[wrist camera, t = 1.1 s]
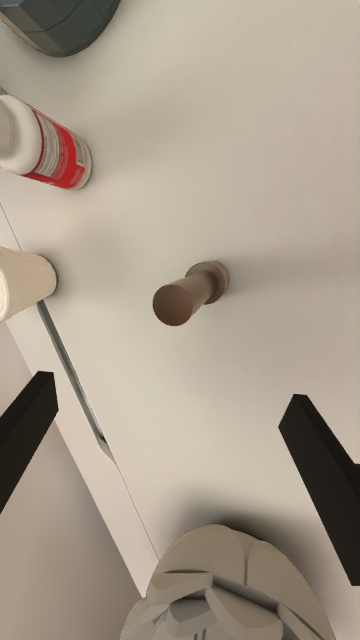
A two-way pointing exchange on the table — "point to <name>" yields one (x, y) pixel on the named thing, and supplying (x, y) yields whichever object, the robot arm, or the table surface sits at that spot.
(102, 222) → the table surface
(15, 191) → the table surface
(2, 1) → the bowl
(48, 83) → the table surface
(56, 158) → the pill bottle
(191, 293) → the pestle
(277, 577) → the decorative bowl
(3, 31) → the table surface
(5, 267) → the cup
